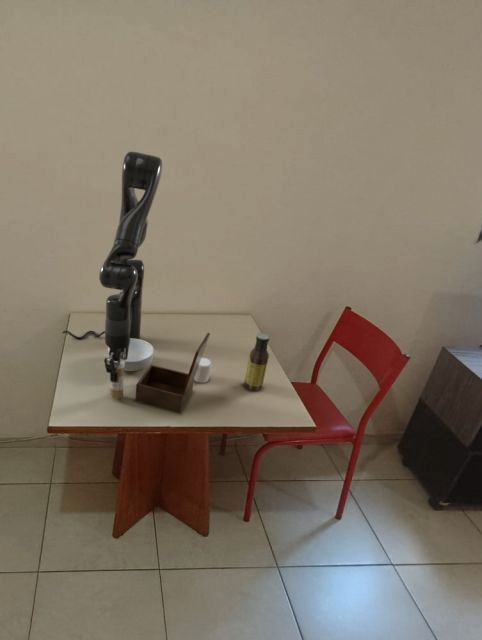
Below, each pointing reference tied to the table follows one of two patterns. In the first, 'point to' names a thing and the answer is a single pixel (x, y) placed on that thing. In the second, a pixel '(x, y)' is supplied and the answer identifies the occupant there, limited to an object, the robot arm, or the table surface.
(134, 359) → the cereal bowl
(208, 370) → the shot glass
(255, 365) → the sauce bottle
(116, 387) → the sprinkles bottle
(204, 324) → the table surface
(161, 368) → the chest
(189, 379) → the chest lid
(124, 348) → the robot arm
